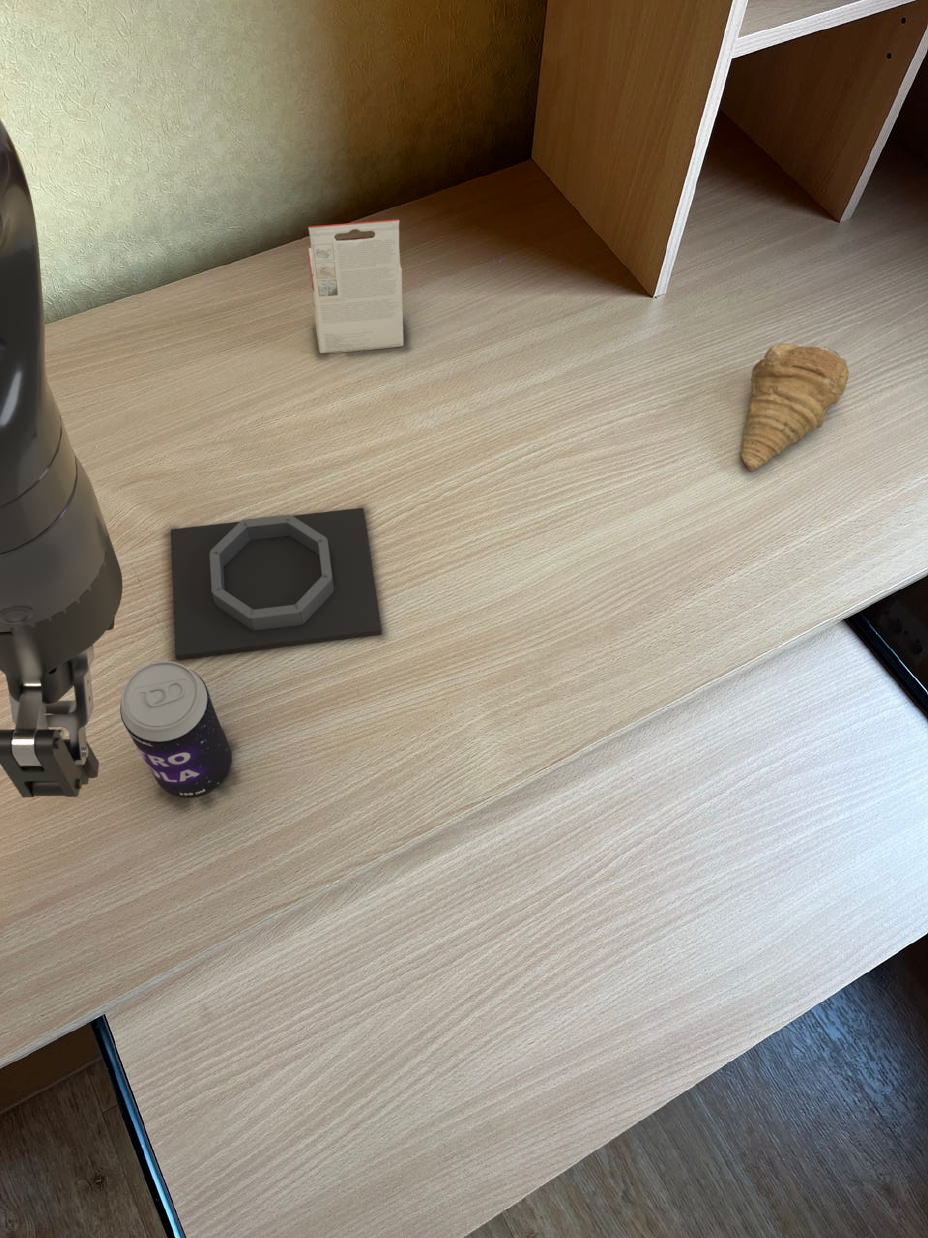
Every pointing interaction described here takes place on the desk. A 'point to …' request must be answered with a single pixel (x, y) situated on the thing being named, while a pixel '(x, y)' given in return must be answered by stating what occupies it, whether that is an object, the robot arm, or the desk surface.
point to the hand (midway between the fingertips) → (87, 696)
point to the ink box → (357, 287)
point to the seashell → (789, 398)
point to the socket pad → (272, 583)
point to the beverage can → (176, 728)
